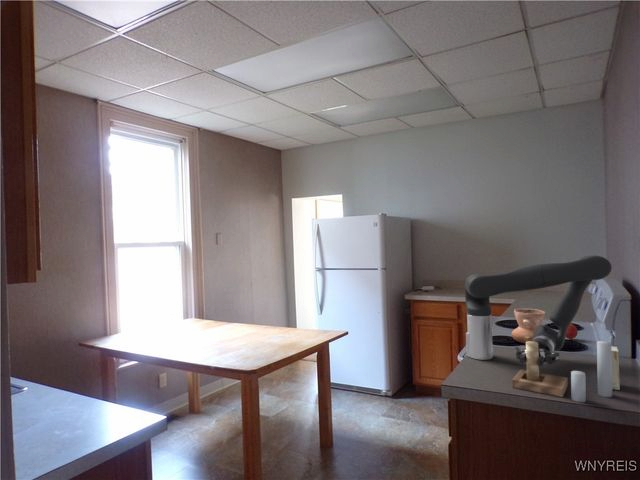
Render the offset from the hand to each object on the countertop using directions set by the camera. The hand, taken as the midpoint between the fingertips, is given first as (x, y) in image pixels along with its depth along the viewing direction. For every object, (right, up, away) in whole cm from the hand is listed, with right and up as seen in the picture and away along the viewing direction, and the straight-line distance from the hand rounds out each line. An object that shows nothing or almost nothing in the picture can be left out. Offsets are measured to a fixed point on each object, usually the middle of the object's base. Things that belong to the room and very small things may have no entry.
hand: (530, 361), depth 129 cm
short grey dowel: (+9, -8, -10) cm, 16 cm away
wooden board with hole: (+4, -8, +1) cm, 9 cm away
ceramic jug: (+26, -7, +51) cm, 57 cm away
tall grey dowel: (+19, -8, -7) cm, 22 cm away
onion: (+45, -6, +51) cm, 68 cm away
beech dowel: (+2, -8, +2) cm, 9 cm away
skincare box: (+25, -8, -1) cm, 26 cm away
